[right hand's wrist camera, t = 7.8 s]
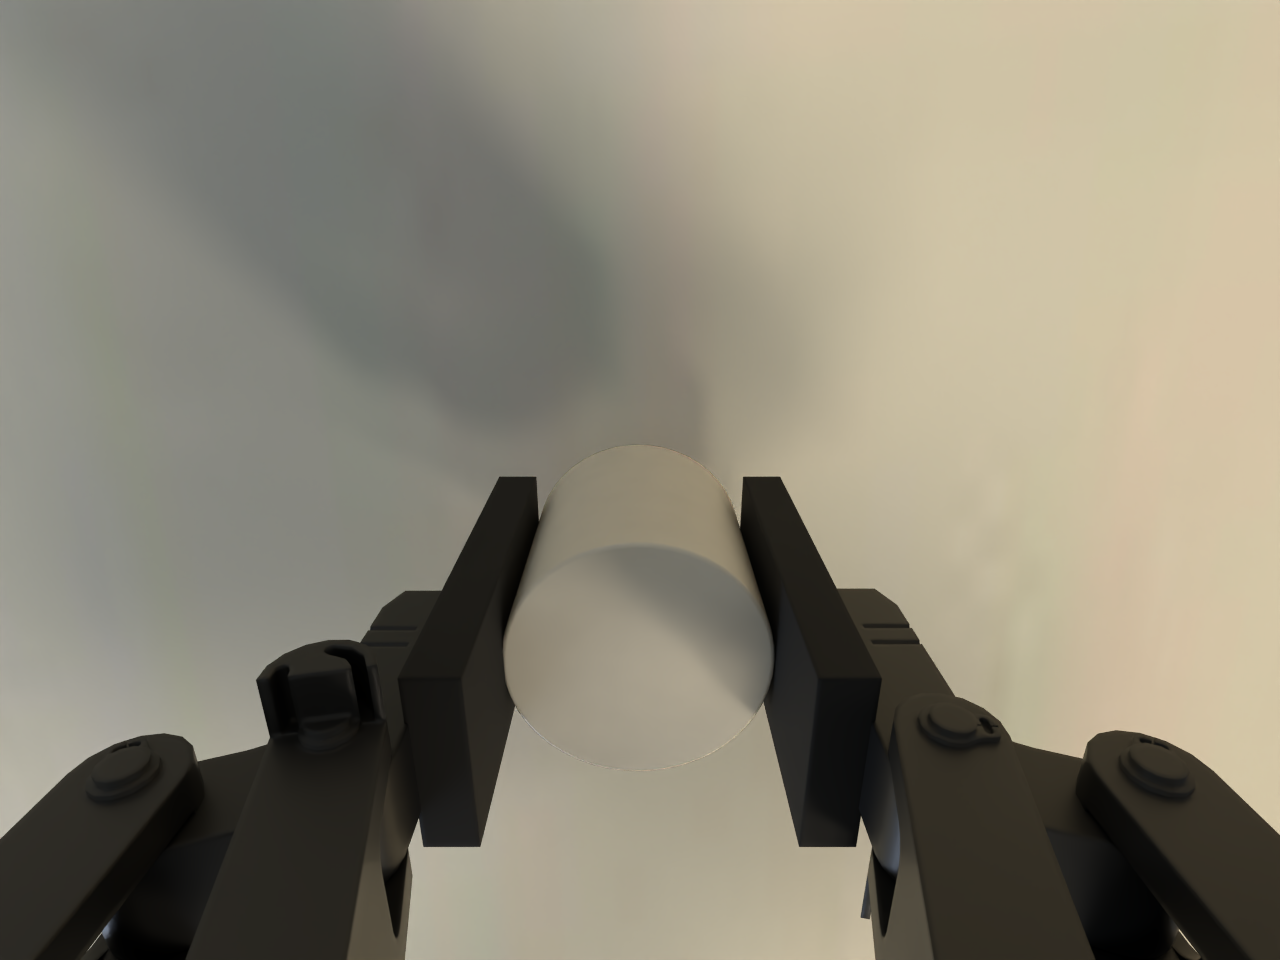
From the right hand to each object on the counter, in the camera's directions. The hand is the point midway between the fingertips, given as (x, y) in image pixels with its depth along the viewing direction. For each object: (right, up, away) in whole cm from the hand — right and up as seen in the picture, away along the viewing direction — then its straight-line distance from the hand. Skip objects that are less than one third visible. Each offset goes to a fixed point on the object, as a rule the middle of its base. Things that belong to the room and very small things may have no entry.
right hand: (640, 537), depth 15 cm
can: (0, 0, 0) cm, 0 cm away
